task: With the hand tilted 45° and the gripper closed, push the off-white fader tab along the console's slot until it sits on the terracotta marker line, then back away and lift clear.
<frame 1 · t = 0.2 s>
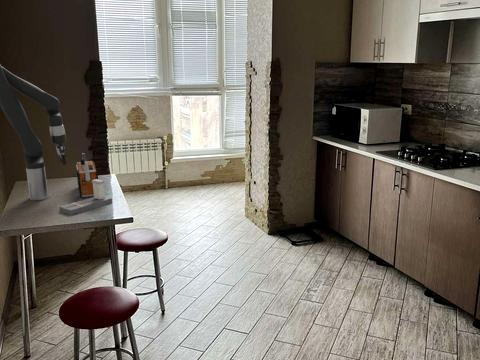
hand: (63, 163, 250), 18 cm above the table, tool pointing down, fingers open, 8 cm apart
fader console: (86, 207, 231), on the table
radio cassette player: (88, 192, 260), on the table
fader tab: (98, 189, 235), point 7 cm above the table, slide at 0.0 cm
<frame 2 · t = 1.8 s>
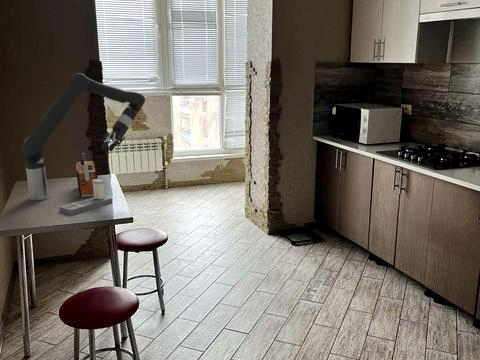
hand: (106, 149, 241), 26 cm above the table, tool tilted 45°, fingers open, 5 cm apart
nothing on the table moved.
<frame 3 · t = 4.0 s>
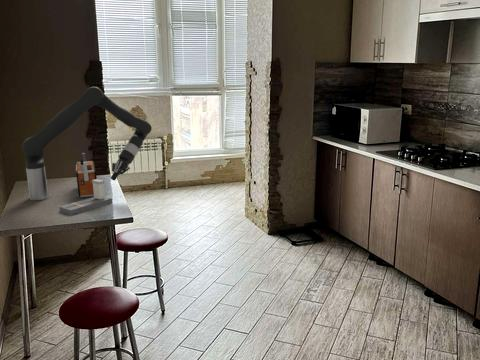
hand: (112, 179, 242), 11 cm above the table, tool tilted 45°, fingers closed
nothing on the table moved.
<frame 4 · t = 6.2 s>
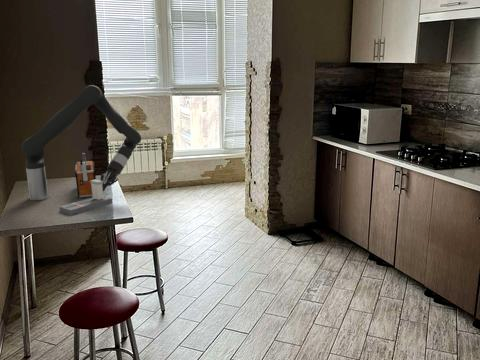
hand: (100, 190, 237), 6 cm above the table, tool tilted 45°, fingers closed
fader tab: (97, 189, 235), point 7 cm above the table, slide at 0.9 cm, touching gripper
everything else where it was.
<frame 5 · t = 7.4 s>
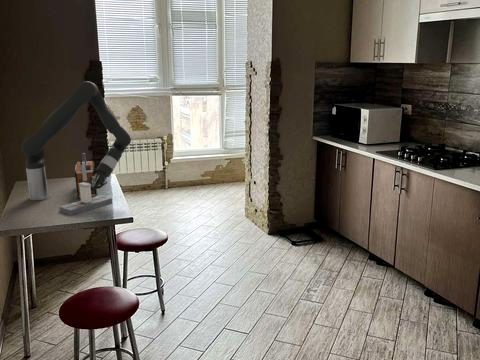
hand: (89, 194, 231), 6 cm above the table, tool tilted 45°, fingers closed
fader tab: (85, 192, 229), point 8 cm above the table, slide at 7.9 cm, touching gripper
everything else where it was.
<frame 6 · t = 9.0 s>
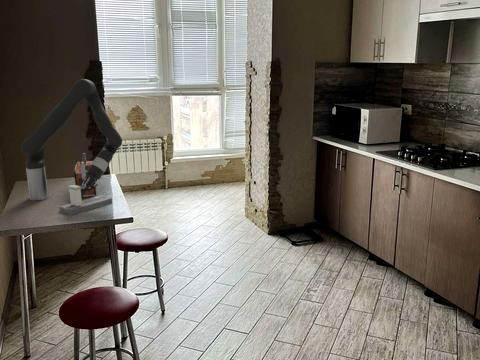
hand: (79, 196, 227), 6 cm above the table, tool tilted 45°, fingers closed
fader tab: (75, 195, 225), point 7 cm above the table, slide at 13.6 cm, touching gripper
everything else where it was.
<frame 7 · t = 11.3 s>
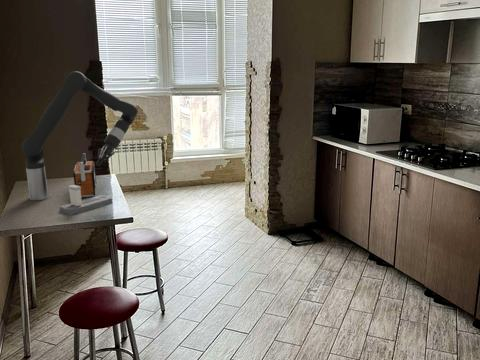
hand: (97, 165, 235), 20 cm above the table, tool tilted 45°, fingers closed
fader tab: (75, 195, 225), point 8 cm above the table, slide at 13.6 cm
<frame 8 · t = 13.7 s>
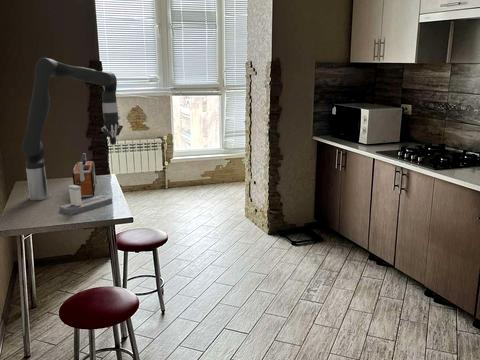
hand: (113, 144, 241), 29 cm above the table, tool pointing down, fingers closed
at the end: fader tab slide at 13.6 cm; the gripper is holding nothing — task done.
